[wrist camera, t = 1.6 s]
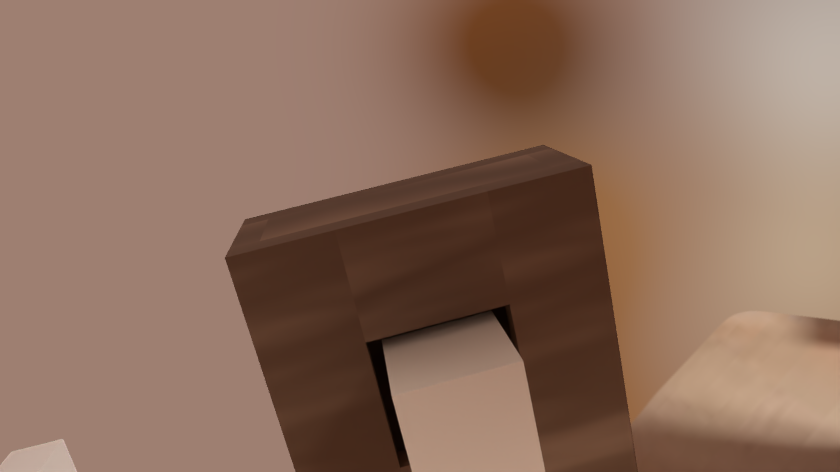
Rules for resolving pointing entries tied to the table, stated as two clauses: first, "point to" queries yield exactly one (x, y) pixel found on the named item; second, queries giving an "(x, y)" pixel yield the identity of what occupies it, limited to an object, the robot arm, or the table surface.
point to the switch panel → (437, 305)
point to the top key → (463, 398)
